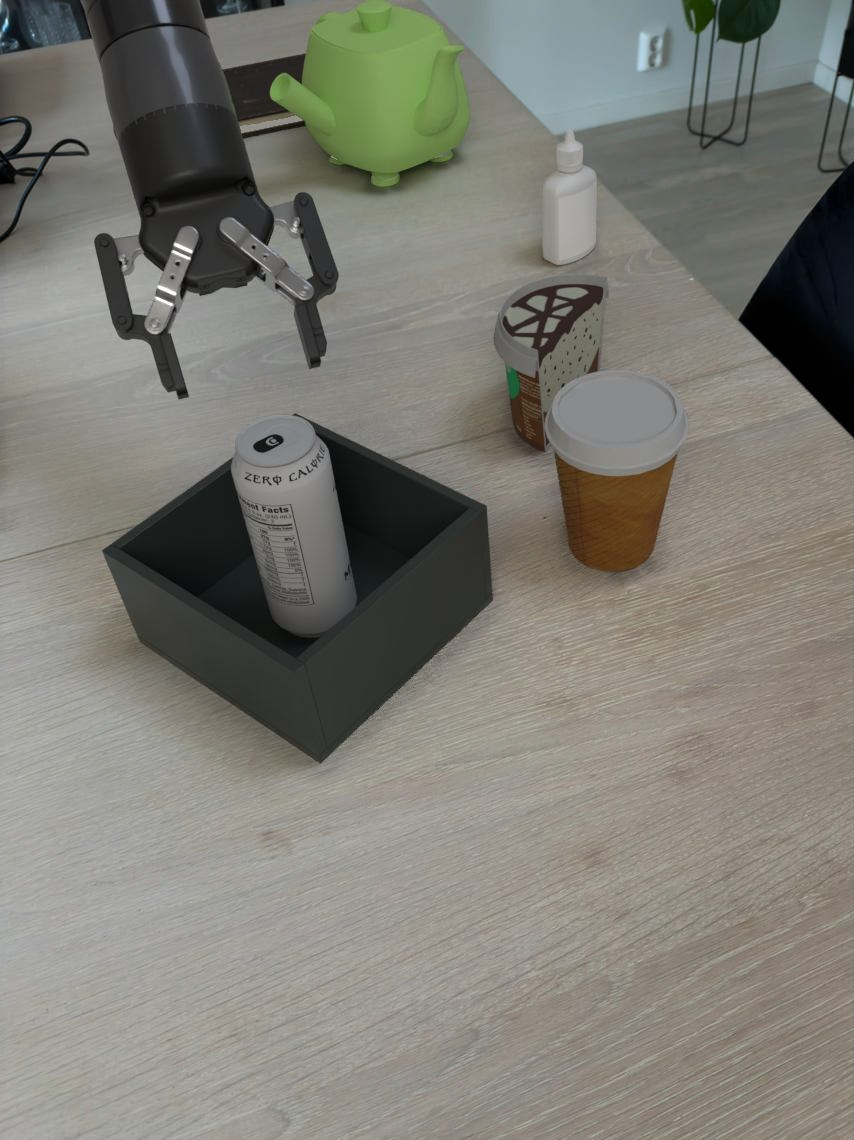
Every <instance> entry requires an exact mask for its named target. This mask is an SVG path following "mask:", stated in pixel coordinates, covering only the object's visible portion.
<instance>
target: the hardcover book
mask: <svg viewBox="0 0 854 1140" xmlns="http://www.w3.org/2000/svg"><path fill="white" fill-rule="evenodd" d="M305 56H306V52H305V53H299V54H295V55H290V56H284V57H279V58H274V59H270V60H264V61H259V62H254V63H248V64H244V65H239V66H238V65H237V66H233V67H228V68H222V70H223V73H224V75H225V78H226V81H227V84H228V87H229V91H230V94H231V98H232V102H233V105H234V108H235V112H236V116H237V119H238V122H239V126H243V125H251V124H259V123H262V122H266V121H273V120H278V119H284V118H288V117H291V116H295V114H293V113H292V112H290V111H289V110H287V109H286V108H284V107H283V106H281V105H280V104H278V103H276V102H275V101H273V100H272V99H271V97H270V88H271V85H272V83H273V81H274V80H275V79H276V77H277V76H279V75H280V74H282V73H287V74H288V75H290V76H291V77H292V78H294V79H295V80H296V81H298V82H299V83H300V84H301V85H302V75H303V68H304V61H305ZM304 126H306V124H305V121H304V120H302V121H298V122H293V123H288V124H283V125H278V126H273V127H269V128H264V129H259V130H254V131H249V132H244V133H242V136H243V139H245V138H250V137H254V136H260V135H265V134H269V133H274V132H279V131H284V130H289V129H293V128H298V127H299V128H300V127H304Z"/></svg>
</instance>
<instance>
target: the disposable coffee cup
mask: <svg viewBox="0 0 854 1140" xmlns="http://www.w3.org/2000/svg"><path fill="white" fill-rule="evenodd" d="M544 426H545V432H546V436H547V439H548V440H549V442H550V444H551V446H550V447H551V448H552V450H553V453H554V454H553V455H554V460H555V466H556V473H557V480H558V485H559V490H560V498H561V504H562V510H563V517H564V522H565V527H566V535H567V540H568V549H569V550H570V552H571V555H572V556H573V557H574V558H575V559H576V560H577V561H578V562H580V563H581V564H583V565H585V566H587V567H588V568H591V569H594V570H598V571H602V572H622V571H626V570H630V569H633V568H637V567H638V566H640V565H641V564H643V563H644V562H646V561H647V560H648V559H649V558H650V557H651V555H652V554H653V553H654V549H655V546H656V542H657V537H658V534H659V529H660V525H661V521H662V517H663V513H664V509H665V505H666V501H667V497H668V494H669V491H670V490H669V489H670V484H671V481H672V477H673V474H674V469H675V465H676V461H677V458H678V453H679V452H680V450H681V448H682V447H683V445H684V444H685V442H686V440H687V437H688V435H689V431H690V421H689V416H688V414H687V412H686V410H685V408H684V405H683V402H682V399H681V397H680V396H679V394H678V392H677V391H676V390H675V389H674V388H673V387H672V386H670V385H669V384H668V383H667V382H666V381H664V380H661V379H659V378H658V377H656V376H653V375H650V374H647V373H644V372H639V371H635V370H625V369H608V370H600V371H599V372H594V373H590V374H587V375H584V376H582V377H579V378H577V379H574V380H572V381H571V382H569V383H568V384H566V385H565V386H564V387H563V388H562V389H561V390H560V391H559V392H558V393H557V395H556V396H555V398H554V400H553V403H552V406H551V407H550V409H549V410H548V412H547V415H546V418H545V425H544Z"/></svg>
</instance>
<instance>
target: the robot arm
mask: <svg viewBox="0 0 854 1140" xmlns="http://www.w3.org/2000/svg"><path fill="white" fill-rule="evenodd" d="M79 1H80V3H81V6H82V8H83V10H84V14H85V18H86V23H87V26H88V29H89V33H90V36H91V40H92V43H93V46H94V49H95V53H96V56H97V60H98V63H99V66H100V71H101V75H102V80H103V88H104V95H105V100H106V105H107V108H108V113H109V116H110V120H111V122H112V127H113V128H112V129H113V135H114V137H115V139H116V141H117V144H118V146H119V150H120V153H121V157H122V161H123V164H124V168H125V170H126V175H127V177H128V181H129V184H130V188H131V192H132V194H133V198H134V202H135V205H136V209H137V211H138V215H139V218H140V219H139V220H140V229H139V232H138V234H134V235H127V236H120V237H113V236H112V235H111V234H109V233H106V232H101V233H98V234H97V235H96V236H95V237H94V241H93V244H94V249H95V254H96V257H97V262H98V266H99V271H100V275H101V279H102V283H103V288H104V293H105V296H106V297H105V298H106V301H107V306H108V310H109V314H110V319H111V323H112V326H113V327H114V329H115V331H116V333H117V336H118V337H119V338H121V339H122V340H125V341H130V340H139V341H142V342H146V343H147V345H149V346H150V348H151V352H152V355H153V359H154V362H155V365H156V369H157V372H158V376H159V379H160V382H161V385H162V387H163V388H164V389H165V391H166V392H167V393H172V392H175V394H176V397H177V399H178V401H180V400H184V399H188V398H190V395H189V391H188V387H187V385H186V384H187V383H186V380H185V378H184V374H183V370H182V367H181V364H180V361H179V357H178V354H177V350H176V347H175V343H174V340H173V335H172V333H171V329H172V327H173V325H174V322H175V320H176V317H177V315H178V314H179V313H180V310H181V309H182V306H183V303H184V301H185V298H186V296H187V294H188V292H189V293H192V294H197V295H199V297H203V296H208V295H212V294H213V293H216V292H217V291H219V290H221V289H238V288H243V287H247V286H248V283H250V282H252V281H253V280H254V279H256V280H258V281H259V282H260V283H261V284H262V285H264V286H265V287H266V288H268V289H269V290H270V291H272V292H275V293H276V294H278V295H279V296H281V297H282V298H283V299H285V300H286V301H287V302H288V303H289V304H291V305H292V306H293V307H294V310H293V318H294V321H295V326H296V329H297V332H298V335H299V339H300V342H301V346H302V350H303V353H304V357H305V361H306V364H307V367H308V369H309V370H312V369H317V368H321V365H322V358H323V357H325V356H326V353H327V345H328V341H327V338H326V334H325V331H324V327H323V323H322V320H321V316H320V313H319V309H318V303H319V302H320V301H321V300H322V299H324V298H325V297H327V296H331V295H333V294H334V293H335V292H336V291H337V290H336V289H337V285H338V284H337V283H338V281H339V277H340V275H339V271H338V268H337V265H336V261H335V259H334V256H333V253H332V249H331V247H330V245H329V242H328V239H327V236H326V232H325V230H324V227H323V224H322V221H321V219H320V215H319V213H318V210H317V206H316V204H315V201H314V198H313V197H312V195H311V194H310V193H308V192H305V191H300V192H299V193H297V194H296V195H295V197H294V198H293V200H290V201H288V202H283V203H279V204H276V205H273V206H269V205H268V204H267V203H266V202H265V201H264V199H263V197H262V196H261V195H260V192H259V189H258V186H257V182H256V179H255V175H254V171H253V168H252V164H251V162H250V157H249V154H248V151H247V147H246V144H245V140H244V138H243V136H242V133H241V129H240V126H239V122H238V119H237V116H236V112H235V108H234V105H233V102H232V98H231V94H230V91H229V87H228V84H227V81H226V78H225V75H224V73H223V70H222V69H223V68H222V65H221V63H220V61H219V58H218V57H217V54H216V52H215V49H214V46H213V44H212V40H211V37H210V33H209V29H208V26H207V23H206V19H205V16H204V12H203V9H202V5H201V1H200V0H79ZM276 226H277V227H282V228H283V229H284V230H285V231H286V233H287V234H288V236H289V237H291V238H292V239H296V240H297V239H300V241H301V244H302V246H303V249H304V253H305V255H306V258H307V262H308V264H309V267H310V270H311V273H312V275H311V276H310V277H308V278H307V279H306V278H304V277H303V276H301V274H299V273H298V272H297V271H296V270H295V269H293V268H292V267H290V266H289V264H288V263H287V261H286V260H285V259H283V257H282V256H280V255H279V254H277V253H276V252H275V251H274V250H272V249H271V248H270V247H269V243H270V241H271V238H272V235H273V234H274V229H275V227H276ZM141 255H143V256H144V257H145V258H146V259H147V260H148V261H149V262H151V263H152V264H153V265H154V266H155V267H157V268H158V269H159V270H160V271H162V273H161V276H160V279H159V281H158V284H157V286H156V288H155V294H154V297H153V300H152V302H151V304H150V307H149V310H148V312H147V315H144V314H136V313H133V312H134V311H133V309H132V305H131V300H130V299H131V298H130V296H129V291H128V286H127V282H126V276H130V275H131V274H132V273H134V271H135V269H136V268H135V267H136V266H135V265H136V264H135V262H136V259H137V258H138V257H139V256H141Z"/></svg>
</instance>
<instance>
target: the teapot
mask: <svg viewBox="0 0 854 1140" xmlns="http://www.w3.org/2000/svg"><path fill="white" fill-rule="evenodd" d="M444 29H445V28H444V27H443V26H442V25H441V24H440V23H439V22H438V21H436V20H434V19H433V18H431V17H429V16H427V15H425V14H423V13H420V12H418V11H414V10H412V9H408V8H405V7H401V6H397V5H392V3H391V2H390V1H387V0H364V1H362V2H360V3H359V4H357V5H356V7H355V9H353V10H349V11H347V12H344V13H340V12H336V11H330V12H326V13H325V14H323V15H321V16H320V17H319V18H318V19H317V21H316V23H315V25H313V26H312V28H311V29H310V32H309V35H308V40H307V45H306V51H305V53H306V56H305V61H304V68H303V75H302V85H301V84H300V83H299V82H298V81H296V80H295V79H294V78H292V77H291V76H290V75H288V74H287V73H282V74H280V75H279V76H277V77H276V79H275V80H274V81H273V83H272V85H271V88H270V97H271V99H272V100H273V101H275V102H276V103H278V104H280V105H281V106H283V107H284V108H286V109H287V110H289V111H290V112H292V113H293V114H295V115H296V116H298V117H299V118H301V119H302V120H304V121H305V124H306V125H305V126H306V128H307V131H308V133H310V135H311V136H312V138H313V139H314V141H315V142H316V144H318V145H319V147H320V148H321V149H322V150H324V152H326V153H327V154H328V155H330V156H329V158H328V161H329V162H330V163H331V164H333V165H340V166H341V165H348V166H351V167H354V168H358V169H361V170H364V171H368V172H371V174H372V176H373V177H374V178H375V179H379V180H388V179H392V178H394V177H396V176H397V175H398V173H399V175H398V176H397V177H396V178H394V179H392V180H388V181H378V180H375V179H373V178H372V176H371V175H370V182H371V185H374V186H376V187H382V188H383V187H391V186H394V185H396V184H397V183H399V182H400V180H401V176H400V172H402V171H405V170H407V169H411V168H413V167H416V166H418V165H421V164H423V163H426V162H428V161H429V162H432V163H442V162H446V161H450V160H451V159H453V157H454V152H453V151H452V149H454V148H456V147H458V146H459V145H461V143H462V141H463V139H464V137H465V135H466V133H467V131H468V128H469V125H470V120H471V107H470V106H471V105H470V101H469V94H468V90H467V85H466V81H465V78H464V75H463V71H462V69H461V66H460V63H459V60H458V56H459V55H460V54H461V53H462V52H463V51H464V50H465V49H466V47H465V46H464V45H457V44H456V45H455V44H454V45H452V44H451V42H450V39H449V36H448V35H447V33H446V31H445V30H444ZM449 150H450V153H449V154H447V155H446V156H443V157H437V156H439V155H441V154H444V153H446V152H447V151H449ZM331 156H333V157H334V158H336V159H337V160H336V159H334V158H332V157H331ZM435 157H437V158H435Z"/></svg>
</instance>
